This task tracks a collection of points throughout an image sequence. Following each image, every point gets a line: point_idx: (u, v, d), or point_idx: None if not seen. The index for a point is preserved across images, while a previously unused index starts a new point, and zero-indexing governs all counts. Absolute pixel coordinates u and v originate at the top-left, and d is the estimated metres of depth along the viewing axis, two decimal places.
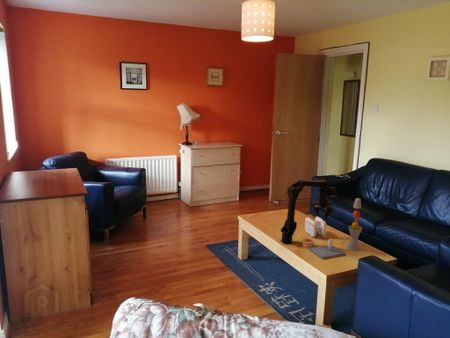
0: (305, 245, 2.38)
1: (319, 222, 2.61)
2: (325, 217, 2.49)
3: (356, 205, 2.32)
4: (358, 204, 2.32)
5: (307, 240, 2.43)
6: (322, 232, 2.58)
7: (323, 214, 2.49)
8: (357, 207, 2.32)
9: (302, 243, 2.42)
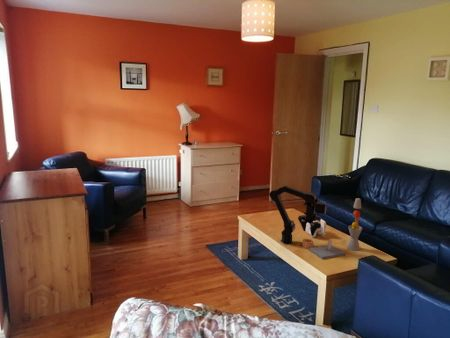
0: (305, 245, 2.38)
1: (319, 222, 2.61)
2: (312, 233, 2.34)
3: (356, 205, 2.32)
4: (358, 204, 2.32)
5: (307, 240, 2.43)
6: (322, 232, 2.58)
7: (310, 230, 2.33)
8: (357, 207, 2.32)
9: (302, 243, 2.42)
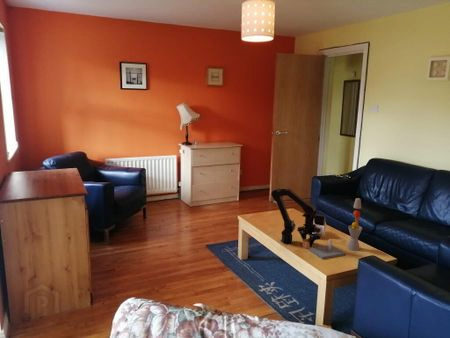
0: (305, 245, 2.38)
1: None
2: (311, 244, 2.36)
3: (356, 205, 2.32)
4: (358, 204, 2.32)
5: (307, 240, 2.43)
6: (322, 232, 2.58)
7: None
8: (357, 207, 2.32)
9: (302, 243, 2.42)
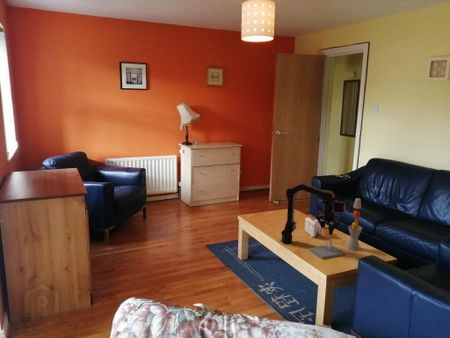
0: (324, 233, 2.29)
1: None
2: (330, 232, 2.27)
3: (356, 205, 2.32)
4: (358, 204, 2.32)
5: (326, 228, 2.33)
6: None
7: None
8: (357, 207, 2.32)
9: (321, 231, 2.32)
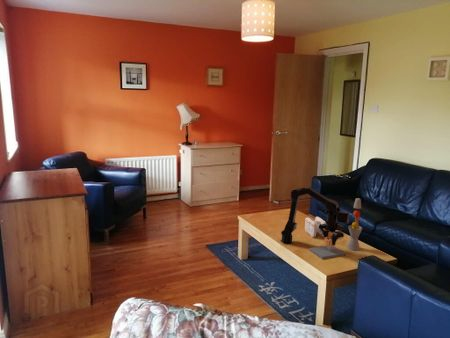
0: (327, 243, 2.28)
1: (319, 222, 2.61)
2: (333, 242, 2.26)
3: (356, 205, 2.32)
4: (358, 204, 2.32)
5: (329, 238, 2.33)
6: None
7: None
8: (357, 207, 2.32)
9: (324, 241, 2.32)
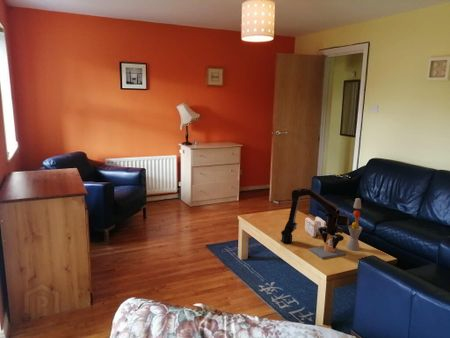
0: (327, 249, 2.29)
1: (319, 222, 2.61)
2: (334, 245, 2.26)
3: (356, 205, 2.32)
4: (358, 204, 2.32)
5: None
6: None
7: (332, 242, 2.25)
8: (357, 207, 2.32)
9: (324, 247, 2.33)
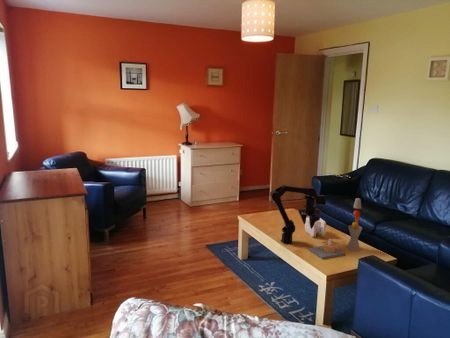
0: (327, 249, 2.29)
1: (319, 222, 2.61)
2: (311, 225, 2.41)
3: (356, 205, 2.32)
4: (358, 204, 2.32)
5: None
6: (322, 232, 2.58)
7: None
8: (357, 207, 2.32)
9: (324, 247, 2.33)
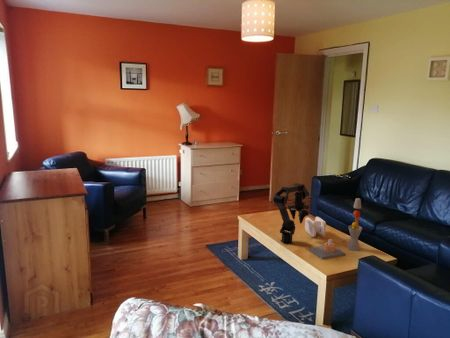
0: (327, 249, 2.29)
1: (319, 222, 2.61)
2: (301, 220, 2.49)
3: (356, 205, 2.32)
4: (358, 204, 2.32)
5: None
6: (322, 232, 2.58)
7: None
8: (357, 207, 2.32)
9: (324, 247, 2.33)
